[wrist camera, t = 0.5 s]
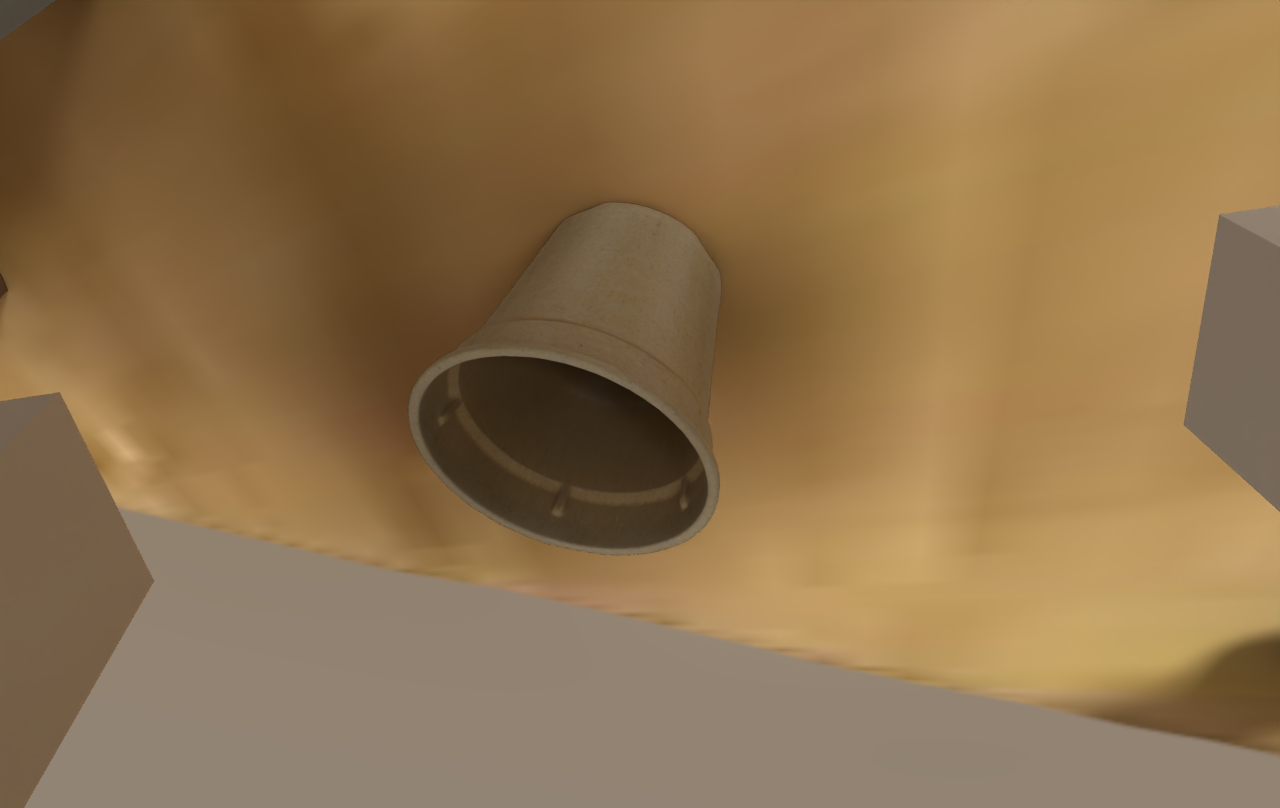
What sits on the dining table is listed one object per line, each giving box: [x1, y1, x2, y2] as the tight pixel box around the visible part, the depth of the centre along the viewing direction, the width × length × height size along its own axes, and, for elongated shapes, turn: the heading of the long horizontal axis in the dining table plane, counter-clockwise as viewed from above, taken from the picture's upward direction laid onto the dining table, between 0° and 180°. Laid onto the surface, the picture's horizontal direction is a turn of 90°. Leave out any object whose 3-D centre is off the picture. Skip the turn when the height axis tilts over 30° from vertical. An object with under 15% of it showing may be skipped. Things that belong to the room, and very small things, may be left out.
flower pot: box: [408, 203, 722, 555], centre depth 31 cm, size 9×9×9 cm
